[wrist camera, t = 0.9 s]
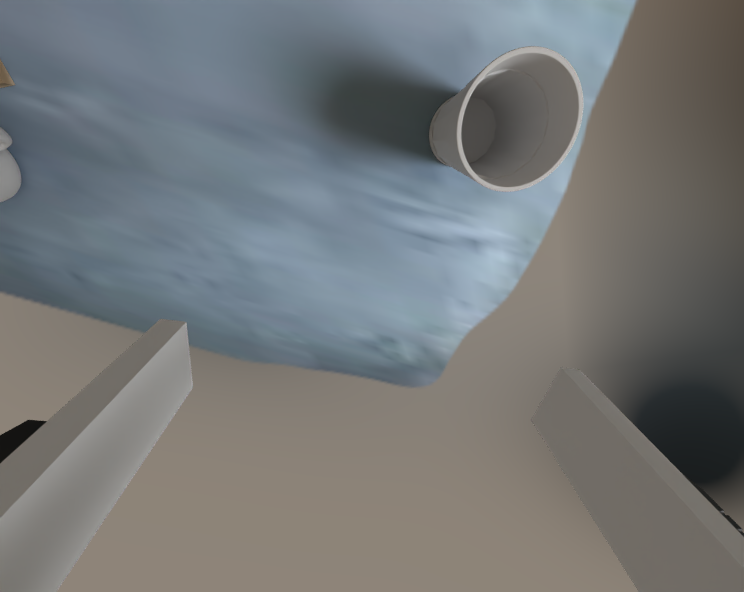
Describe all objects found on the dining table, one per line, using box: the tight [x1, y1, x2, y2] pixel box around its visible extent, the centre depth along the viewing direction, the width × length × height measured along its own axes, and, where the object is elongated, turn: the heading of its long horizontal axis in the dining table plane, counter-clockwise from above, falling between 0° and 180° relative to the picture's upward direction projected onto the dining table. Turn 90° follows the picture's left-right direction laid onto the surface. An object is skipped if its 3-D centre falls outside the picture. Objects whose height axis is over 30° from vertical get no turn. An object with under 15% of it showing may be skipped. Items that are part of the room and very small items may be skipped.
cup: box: [429, 46, 583, 192], centre depth 25 cm, size 8×8×12 cm
